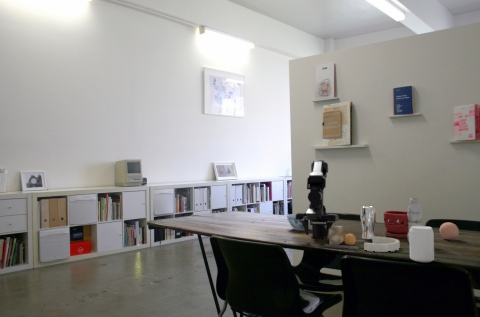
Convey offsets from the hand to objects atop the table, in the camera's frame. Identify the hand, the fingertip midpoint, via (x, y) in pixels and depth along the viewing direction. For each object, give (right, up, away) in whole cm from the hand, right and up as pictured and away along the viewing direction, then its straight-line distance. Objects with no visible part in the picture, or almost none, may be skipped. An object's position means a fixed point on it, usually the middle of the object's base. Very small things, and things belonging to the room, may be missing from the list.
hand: (317, 235), depth 181 cm
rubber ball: (+13, 0, -7) cm, 15 cm away
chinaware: (-2, -4, +38) cm, 39 cm away
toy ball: (+62, -2, +2) cm, 62 cm away
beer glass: (+26, -3, +8) cm, 28 cm away
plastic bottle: (+42, -3, -6) cm, 43 cm away
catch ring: (+25, -2, -14) cm, 29 cm away
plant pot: (+42, -3, +12) cm, 44 cm away
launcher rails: (+11, -3, -6) cm, 13 cm away
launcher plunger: (+8, -3, -4) cm, 9 cm away
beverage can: (+31, -2, -37) cm, 48 cm away
